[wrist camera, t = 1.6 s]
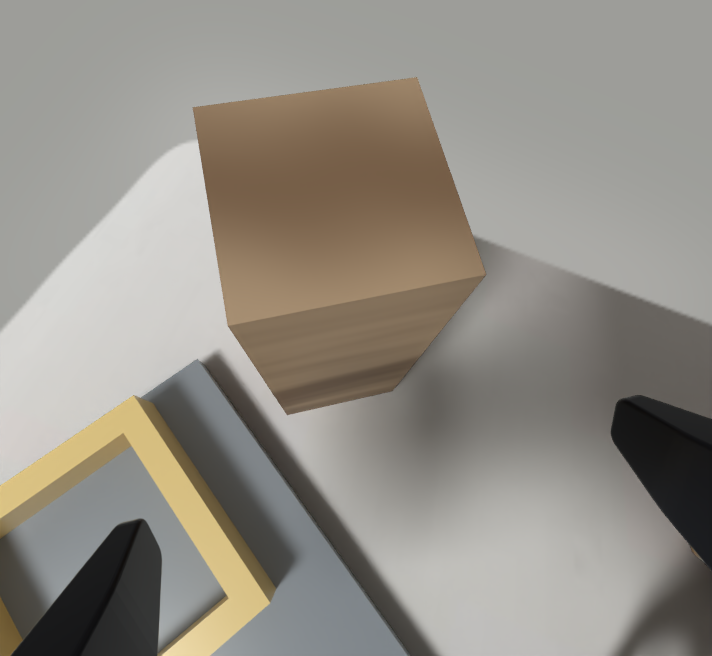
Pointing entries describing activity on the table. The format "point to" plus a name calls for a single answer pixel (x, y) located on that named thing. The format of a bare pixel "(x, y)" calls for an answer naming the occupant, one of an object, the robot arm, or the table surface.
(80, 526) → the base board
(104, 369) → the table surface
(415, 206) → the walnut column
